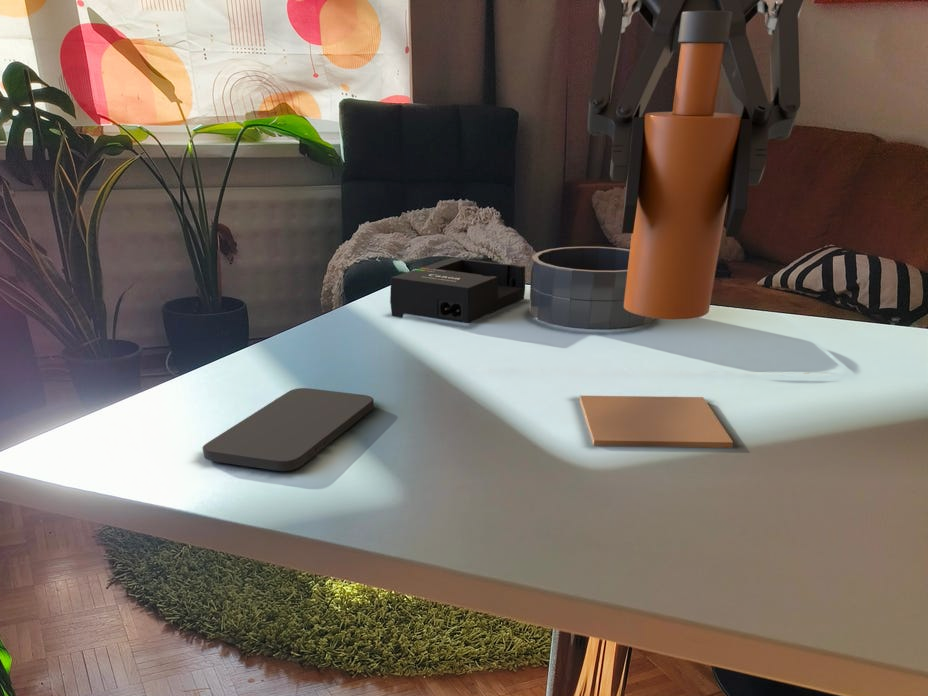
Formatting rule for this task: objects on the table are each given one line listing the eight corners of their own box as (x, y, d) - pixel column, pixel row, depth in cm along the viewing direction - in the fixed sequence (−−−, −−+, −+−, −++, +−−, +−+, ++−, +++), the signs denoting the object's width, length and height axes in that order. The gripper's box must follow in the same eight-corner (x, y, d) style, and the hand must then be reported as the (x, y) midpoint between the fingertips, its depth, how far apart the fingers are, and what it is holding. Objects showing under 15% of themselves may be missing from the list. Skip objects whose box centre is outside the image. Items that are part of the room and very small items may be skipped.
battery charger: (468, 329, 91) (468, 288, 89) (390, 317, 95) (389, 277, 93) (524, 303, 100) (526, 265, 98) (451, 293, 104) (451, 256, 102)
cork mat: (702, 403, 72) (703, 396, 72) (732, 448, 64) (733, 442, 64) (579, 401, 73) (579, 395, 72) (593, 447, 64) (594, 440, 64)
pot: (643, 304, 100) (650, 247, 97) (664, 335, 89) (673, 272, 86) (526, 303, 101) (529, 246, 97) (533, 334, 90) (536, 271, 86)
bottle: (698, 299, 66) (744, 13, 56) (717, 320, 61) (770, 10, 52) (618, 298, 66) (649, 12, 57) (630, 318, 61) (666, 9, 52)
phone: (379, 396, 71) (292, 463, 59) (379, 406, 71) (293, 475, 59) (295, 386, 73) (194, 449, 61) (295, 396, 73) (196, 461, 61)
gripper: (831, -25, 64) (818, 263, 60) (566, -24, 66) (535, 252, 62) (868, -134, 57) (856, 185, 52) (568, -129, 59) (533, 176, 55)
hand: (682, 221), depth 57 cm, fingers closed on bottle, 6 cm apart
